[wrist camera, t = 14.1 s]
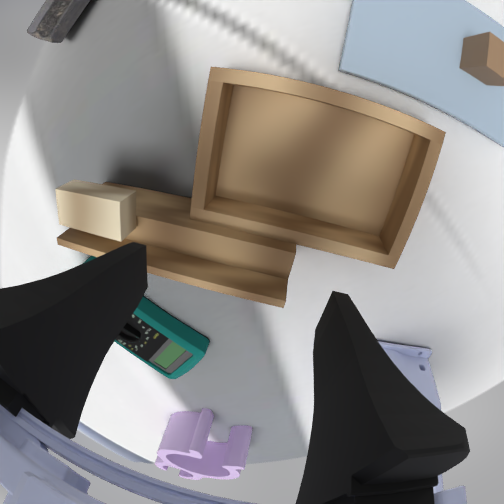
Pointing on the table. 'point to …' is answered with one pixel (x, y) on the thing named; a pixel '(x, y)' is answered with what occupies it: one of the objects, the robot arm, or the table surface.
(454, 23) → the lid
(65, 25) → the pipe
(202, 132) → the toolbox
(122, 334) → the digital multimeter
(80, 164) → the table surface
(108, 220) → the cream rectangular block
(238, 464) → the clip
